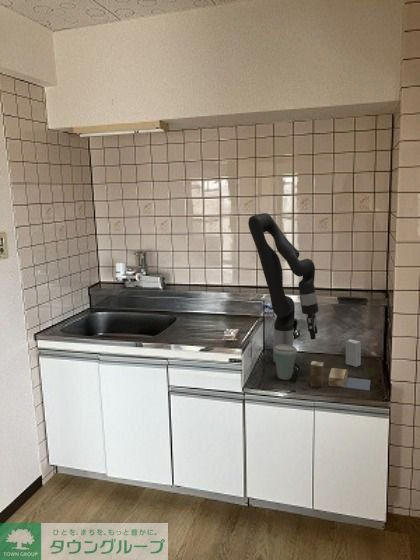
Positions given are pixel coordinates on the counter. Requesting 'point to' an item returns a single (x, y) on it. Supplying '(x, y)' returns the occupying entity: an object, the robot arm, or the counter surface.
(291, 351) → the disposable coffee cup
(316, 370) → the walnut block
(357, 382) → the rubber mat
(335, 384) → the beech step
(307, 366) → the counter surface
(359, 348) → the skincare box
